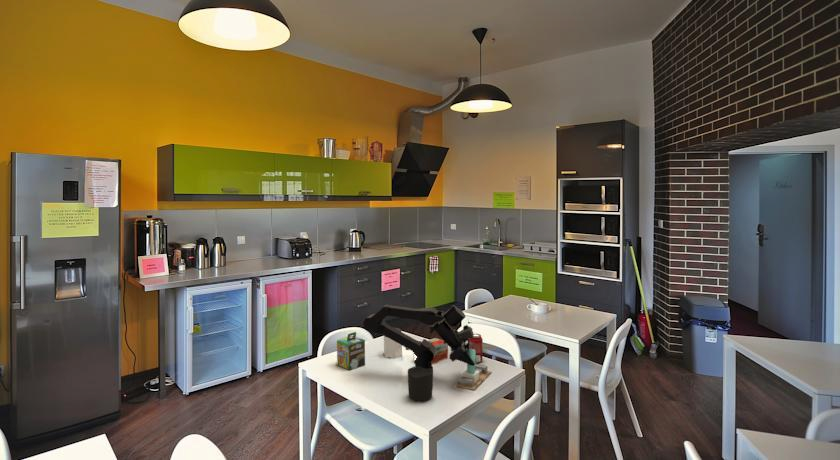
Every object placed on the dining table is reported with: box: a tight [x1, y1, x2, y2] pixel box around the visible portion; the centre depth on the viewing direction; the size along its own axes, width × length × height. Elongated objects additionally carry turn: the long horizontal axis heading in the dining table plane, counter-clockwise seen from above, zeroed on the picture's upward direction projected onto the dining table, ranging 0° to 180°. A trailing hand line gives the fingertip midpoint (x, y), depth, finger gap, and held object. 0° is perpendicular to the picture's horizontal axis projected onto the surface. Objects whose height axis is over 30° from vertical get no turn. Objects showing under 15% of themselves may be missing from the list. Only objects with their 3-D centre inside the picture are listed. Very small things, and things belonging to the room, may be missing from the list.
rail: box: [454, 363, 493, 391], centre depth 181 cm, size 20×8×3 cm, turn 152°
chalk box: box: [336, 331, 366, 371], centre depth 197 cm, size 9×9×15 cm
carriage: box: [462, 349, 479, 383], centre depth 178 cm, size 5×5×12 cm
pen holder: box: [407, 366, 434, 403], centre depth 165 cm, size 9×9×10 cm
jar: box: [383, 327, 403, 359], centre depth 210 cm, size 9×8×12 cm
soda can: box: [466, 332, 484, 364], centre depth 202 cm, size 7×7×12 cm
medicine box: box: [427, 337, 449, 365], centre depth 204 cm, size 15×8×8 cm, turn 137°
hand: (474, 363), depth 178 cm, fingers open, 4 cm apart
